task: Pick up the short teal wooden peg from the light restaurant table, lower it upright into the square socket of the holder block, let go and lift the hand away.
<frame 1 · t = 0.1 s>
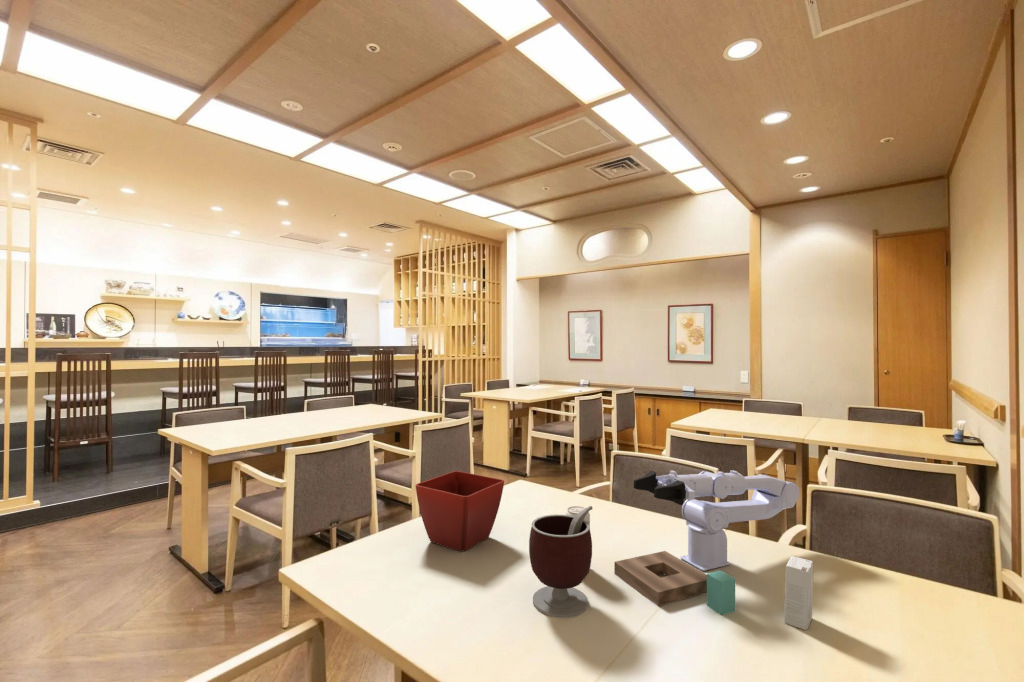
hand: (644, 488, 118), 22 cm above the table, tool horizontal, fingers open, 7 cm apart
holder block: (661, 582, 115), on the table
skincare box: (799, 622, 99), on the table
plant pot: (460, 540, 140), on the table
beer can: (577, 569, 122), on the table
mate gourd: (563, 602, 106), on the table
teal peg: (720, 608, 104), on the table
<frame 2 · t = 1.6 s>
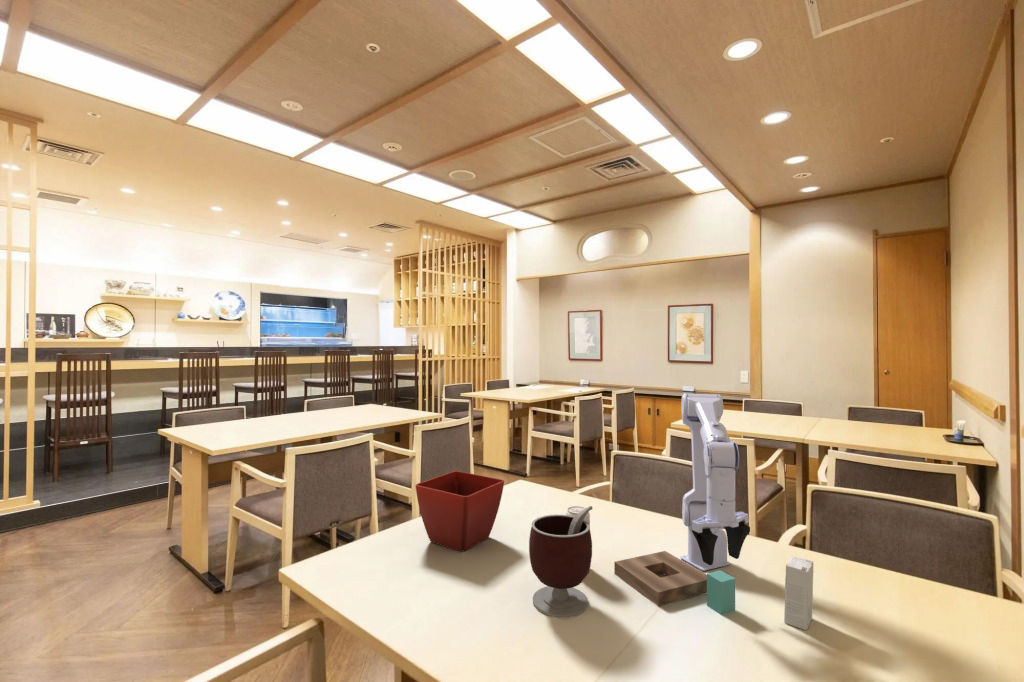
hand: (720, 560, 104), 10 cm above the table, tool pointing down, fingers open, 7 cm apart
nothing on the table moved.
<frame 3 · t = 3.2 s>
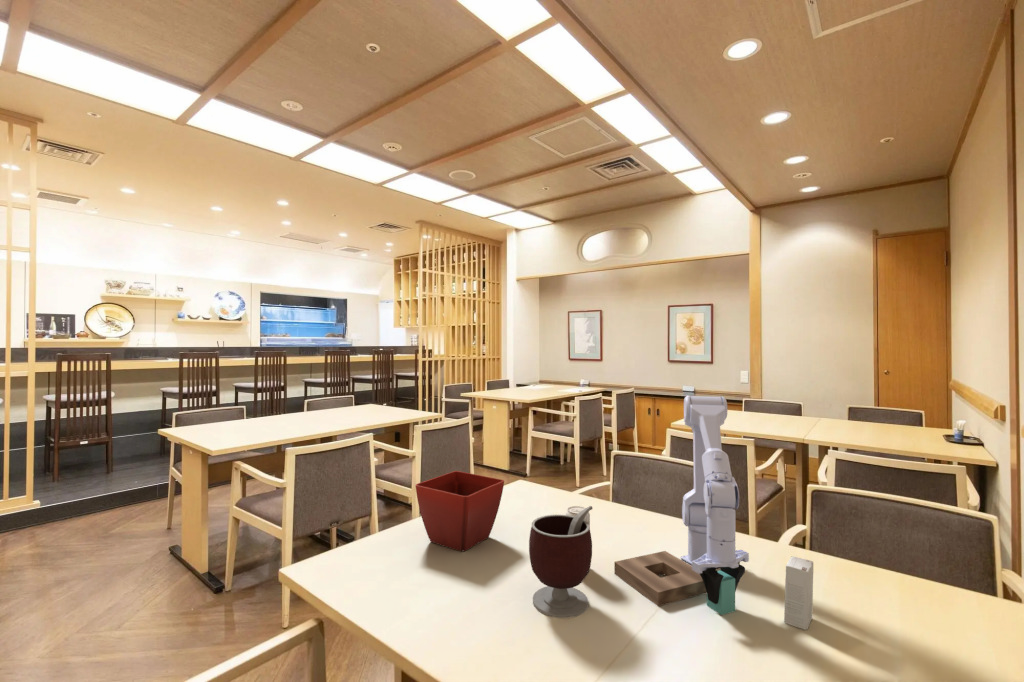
hand: (720, 599, 104), 2 cm above the table, tool pointing down, fingers closed on teal peg, 4 cm apart
teal peg: (720, 608, 104), on the table, touching gripper
everything else where it was.
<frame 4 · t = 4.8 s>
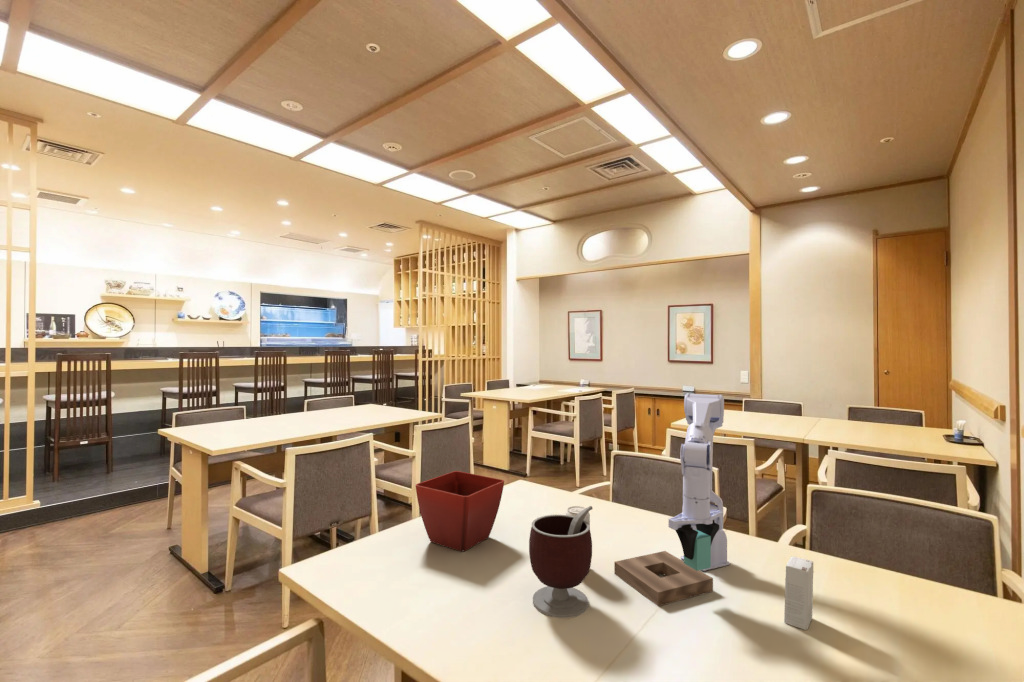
hand: (696, 555, 108), 9 cm above the table, tool pointing down, fingers closed on teal peg, 4 cm apart
teal peg: (697, 565, 108), point 7 cm above the table, touching gripper
everything else where it was.
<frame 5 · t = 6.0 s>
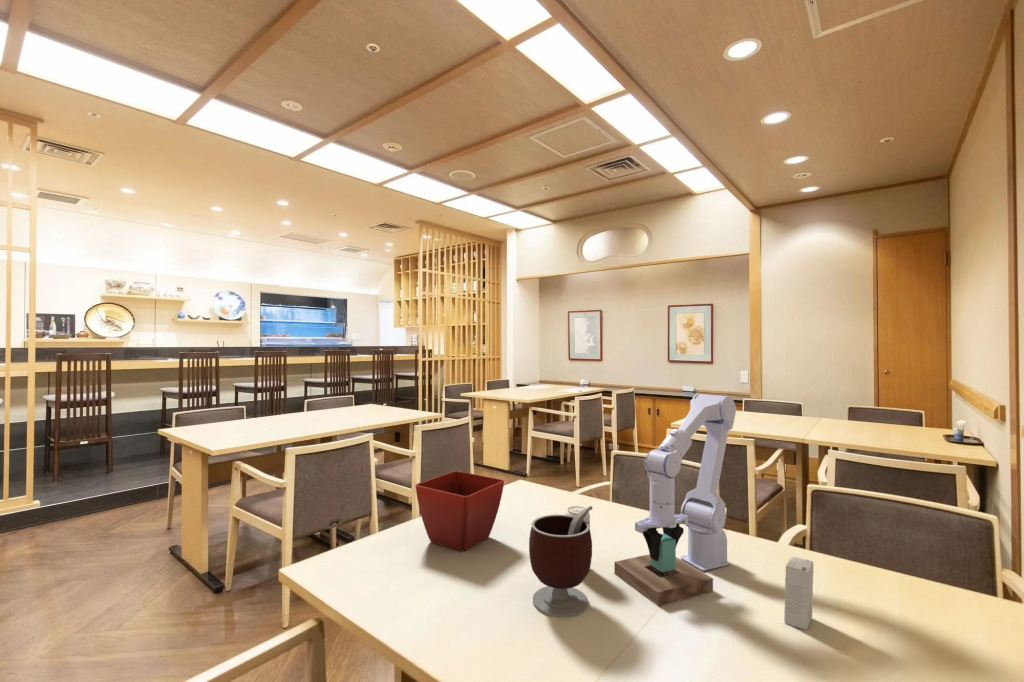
hand: (661, 557, 115), 6 cm above the table, tool pointing down, fingers closed on teal peg, 4 cm apart
teal peg: (663, 567, 115), point 4 cm above the table, touching gripper
everything else where it was.
when the fingers open (4 cm above the table, at t = 6.8 s): teal peg drops 2 cm, resting in holder block.
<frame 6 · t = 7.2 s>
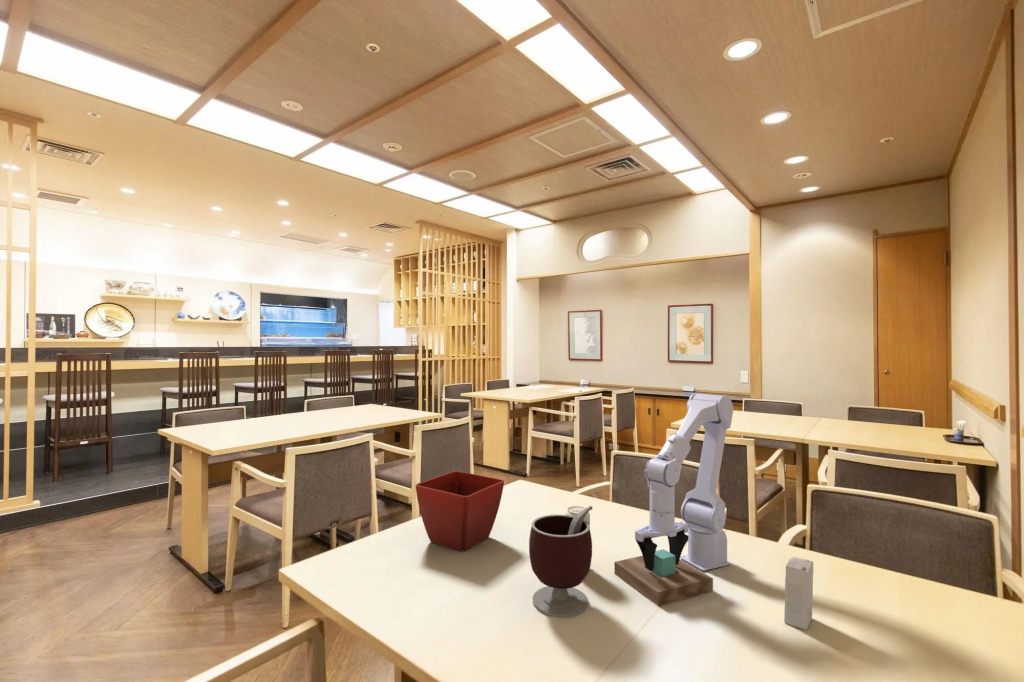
hand: (661, 565, 115), 4 cm above the table, tool pointing down, fingers open, 7 cm apart
teal peg: (662, 583, 115), resting in holder block
everything else where it was.
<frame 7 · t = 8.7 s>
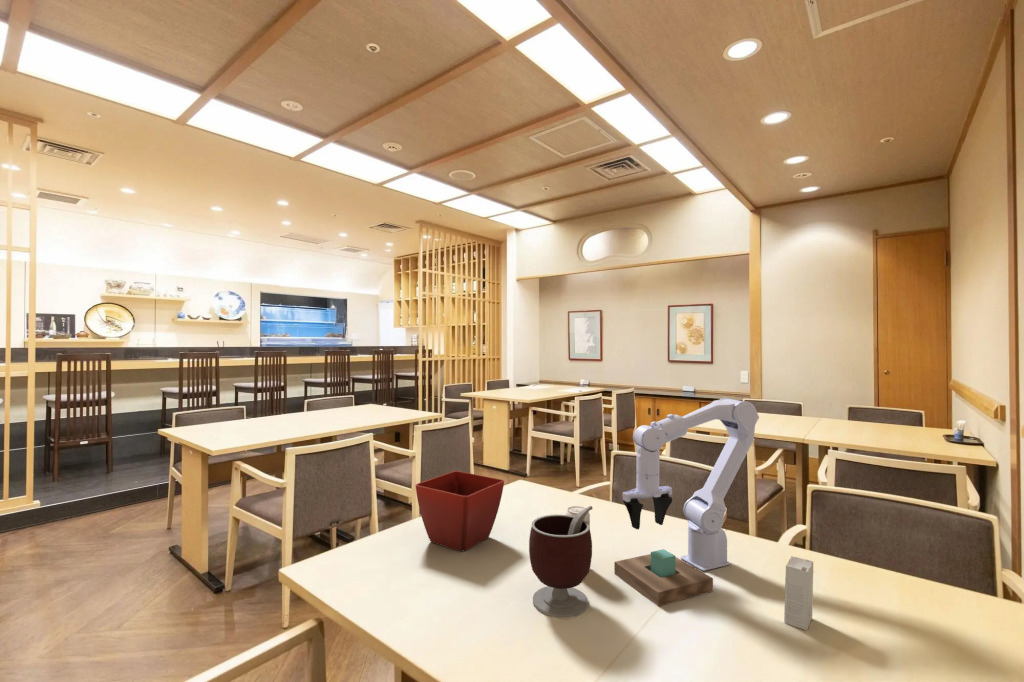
hand: (647, 525, 123), 10 cm above the table, tool pointing down, fingers open, 7 cm apart
nothing on the table moved.
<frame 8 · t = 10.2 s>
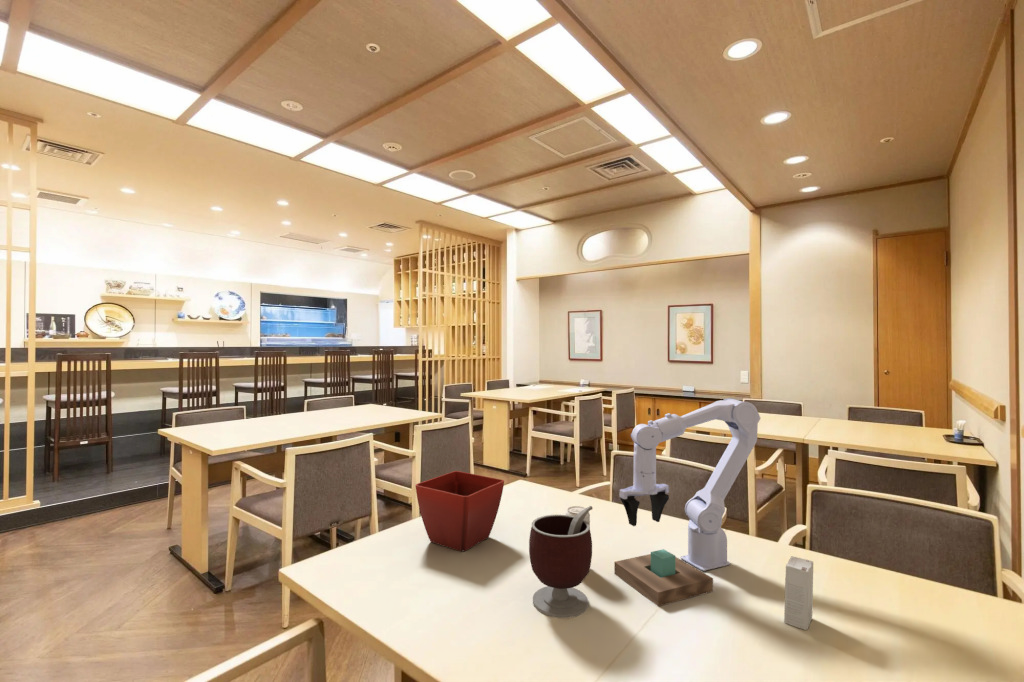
hand: (644, 522, 125), 10 cm above the table, tool pointing down, fingers open, 7 cm apart
nothing on the table moved.
at the end: teal peg 0.4 cm off-centre on the holder block, point 0.0 cm above the holder block's base; teal peg tilted 0°; the gripper is holding nothing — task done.
